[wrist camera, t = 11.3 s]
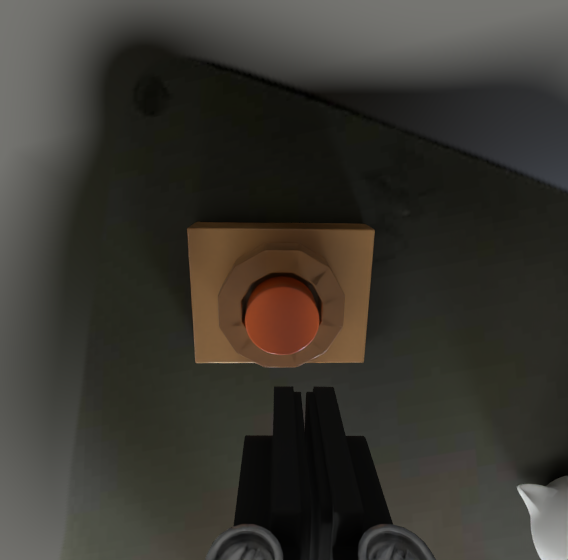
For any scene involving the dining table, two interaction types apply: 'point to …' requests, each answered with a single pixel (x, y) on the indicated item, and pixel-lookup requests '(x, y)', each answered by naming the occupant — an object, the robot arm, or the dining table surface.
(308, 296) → the button
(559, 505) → the cat figurine
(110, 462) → the dining table surface
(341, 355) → the button block
